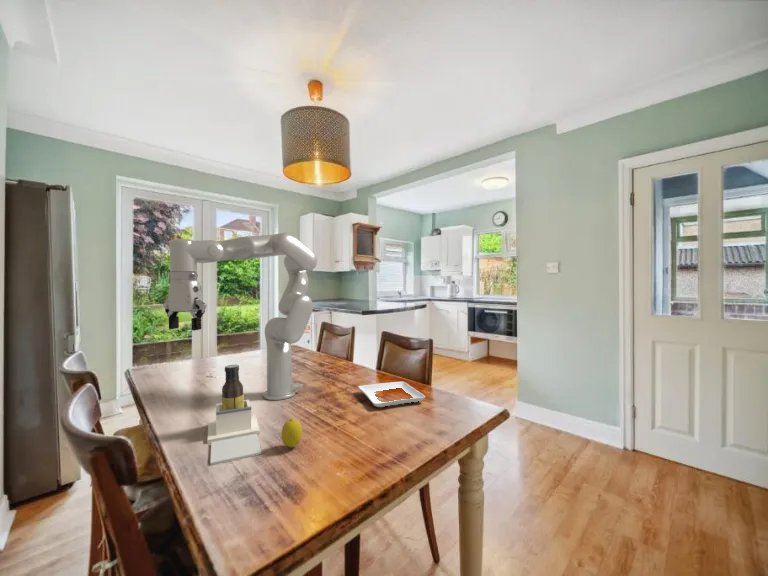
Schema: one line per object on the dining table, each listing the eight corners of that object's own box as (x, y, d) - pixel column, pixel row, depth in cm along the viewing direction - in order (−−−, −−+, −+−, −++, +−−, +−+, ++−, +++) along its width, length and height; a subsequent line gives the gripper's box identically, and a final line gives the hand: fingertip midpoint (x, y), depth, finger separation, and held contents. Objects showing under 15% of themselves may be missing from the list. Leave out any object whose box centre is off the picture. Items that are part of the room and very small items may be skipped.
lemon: (294, 441, 95) (294, 413, 95) (306, 447, 92) (306, 418, 92) (277, 448, 91) (277, 419, 91) (289, 454, 88) (289, 425, 88)
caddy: (255, 416, 113) (255, 394, 112) (259, 433, 100) (259, 408, 100) (208, 424, 106) (208, 401, 106) (207, 443, 94) (207, 416, 94)
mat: (256, 435, 99) (256, 433, 99) (261, 454, 88) (261, 452, 88) (211, 444, 93) (211, 442, 93) (210, 465, 83) (210, 462, 83)
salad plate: (426, 404, 125) (427, 395, 125) (374, 412, 118) (374, 403, 118) (403, 388, 145) (403, 380, 145) (357, 394, 137) (357, 385, 137)
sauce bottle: (243, 423, 107) (243, 362, 107) (245, 430, 102) (245, 366, 102) (221, 427, 104) (221, 364, 104) (222, 435, 99) (222, 369, 99)
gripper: (214, 277, 109) (215, 328, 109) (174, 277, 114) (175, 326, 115) (194, 277, 102) (195, 332, 102) (153, 277, 107) (154, 330, 108)
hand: (185, 329), depth 109 cm, fingers open, 9 cm apart
